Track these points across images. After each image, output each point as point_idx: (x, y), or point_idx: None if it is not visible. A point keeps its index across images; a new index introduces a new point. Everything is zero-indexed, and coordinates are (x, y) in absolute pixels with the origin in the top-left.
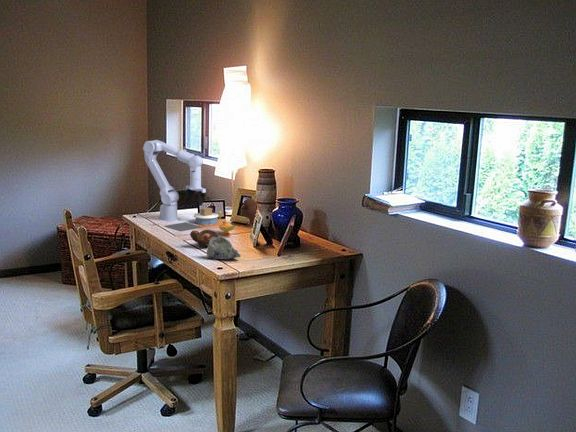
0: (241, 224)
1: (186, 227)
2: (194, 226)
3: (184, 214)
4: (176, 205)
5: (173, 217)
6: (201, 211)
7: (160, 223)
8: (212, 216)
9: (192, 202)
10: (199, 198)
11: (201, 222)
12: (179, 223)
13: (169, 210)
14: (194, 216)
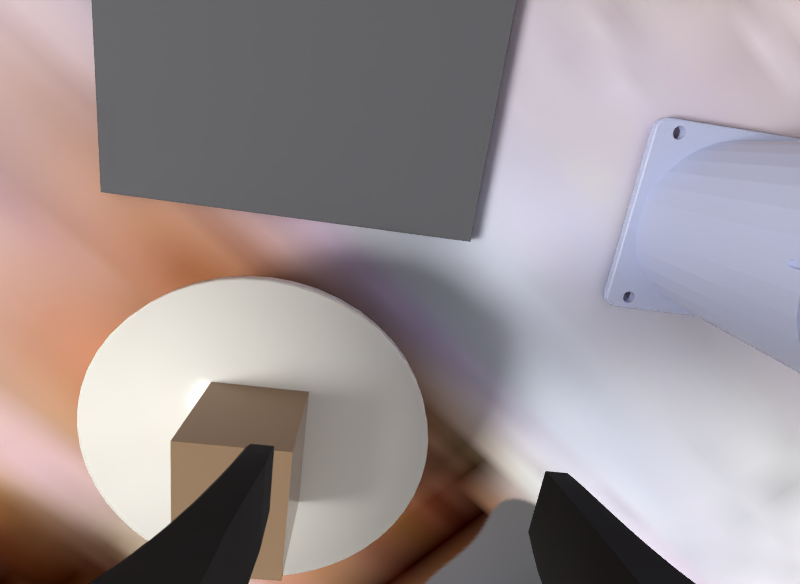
0: (7, 574)
1: (233, 22)
2: (206, 146)
3: (748, 514)
4: (786, 328)
5: (667, 209)
6: (270, 422)
7: (714, 3)
8: (120, 437)
9: (537, 532)
10: (125, 572)
11: None
12: (477, 138)
13: (793, 170)
14: (327, 296)
